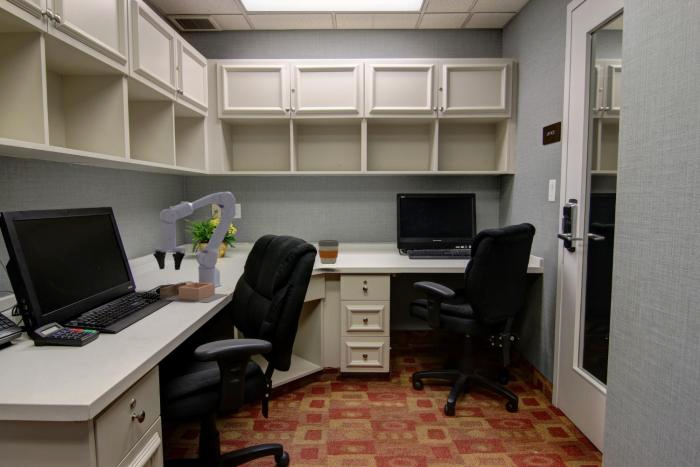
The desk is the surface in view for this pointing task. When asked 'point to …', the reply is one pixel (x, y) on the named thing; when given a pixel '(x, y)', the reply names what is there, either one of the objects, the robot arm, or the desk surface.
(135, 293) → the desk surface
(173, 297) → the mat
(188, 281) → the eye dropper bottle
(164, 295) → the end wall
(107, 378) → the desk surface
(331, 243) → the reusable coffee cup
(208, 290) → the socket block
